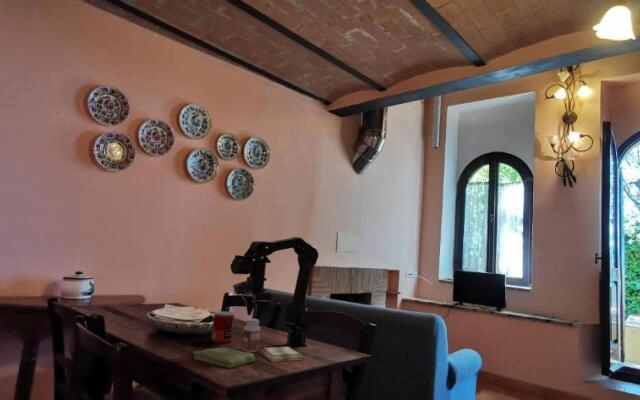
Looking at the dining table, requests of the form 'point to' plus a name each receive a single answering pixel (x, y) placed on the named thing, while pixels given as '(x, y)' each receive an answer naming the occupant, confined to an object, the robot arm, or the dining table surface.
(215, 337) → the canned food
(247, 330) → the pill bottle
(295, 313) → the robot arm
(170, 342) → the dining table surface
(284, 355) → the stand
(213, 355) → the washcloth
